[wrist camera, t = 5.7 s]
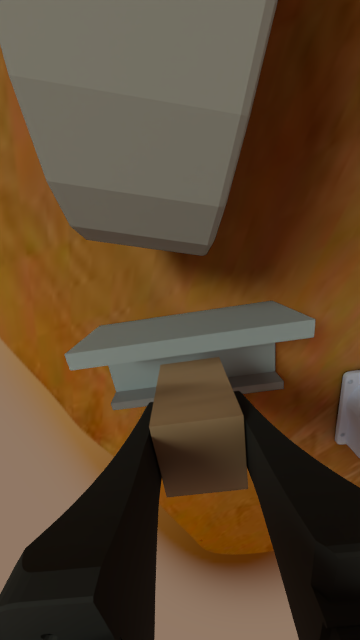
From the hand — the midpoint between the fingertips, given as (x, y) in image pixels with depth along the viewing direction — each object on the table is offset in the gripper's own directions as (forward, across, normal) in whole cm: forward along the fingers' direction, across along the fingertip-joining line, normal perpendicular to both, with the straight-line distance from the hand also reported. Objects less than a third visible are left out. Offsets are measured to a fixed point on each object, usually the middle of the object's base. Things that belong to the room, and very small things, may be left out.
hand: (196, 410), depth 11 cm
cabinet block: (+2, 0, 0) cm, 2 cm away
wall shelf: (+8, 0, 0) cm, 8 cm away
